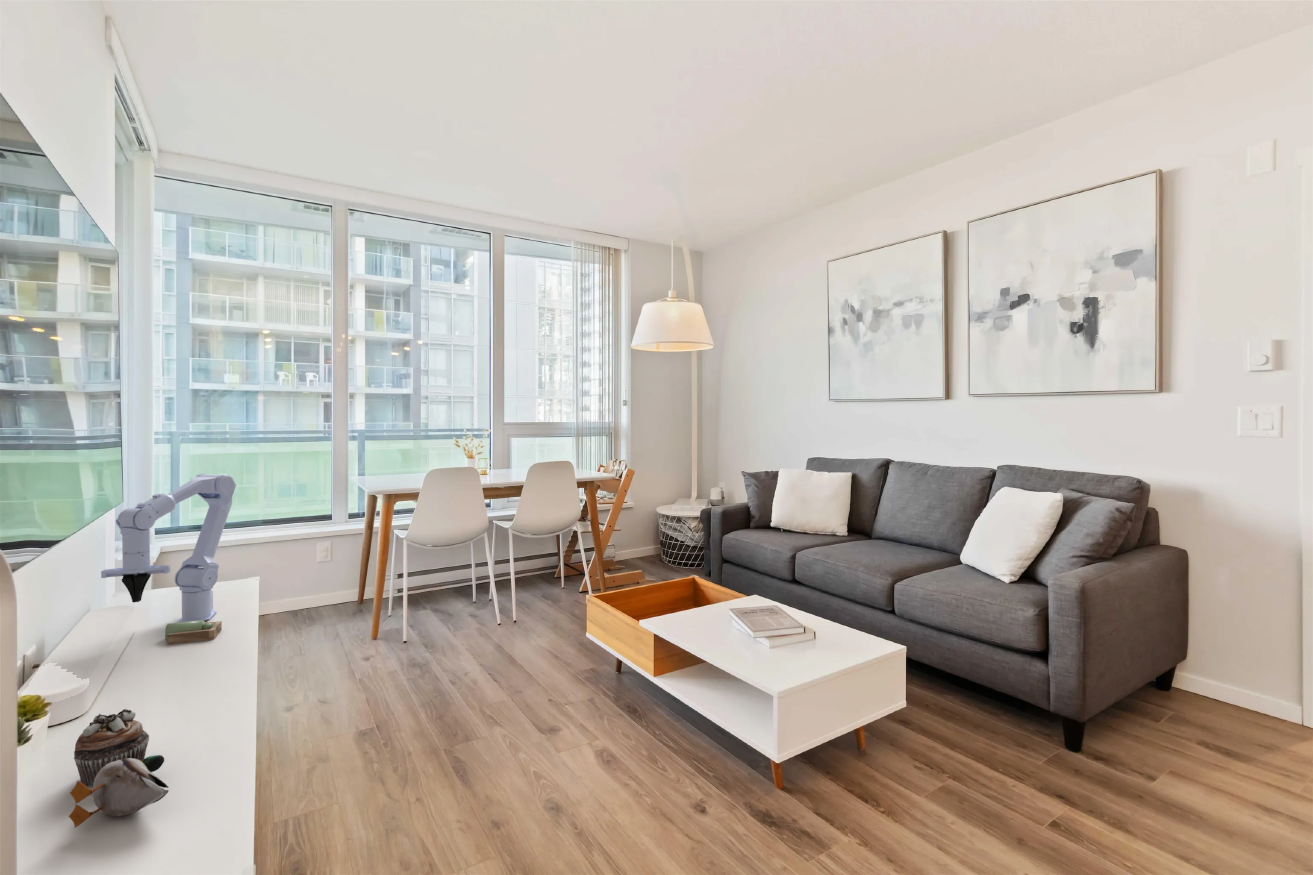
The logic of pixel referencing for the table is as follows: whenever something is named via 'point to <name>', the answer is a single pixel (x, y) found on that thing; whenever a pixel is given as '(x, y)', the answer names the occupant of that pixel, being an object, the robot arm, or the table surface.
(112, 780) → the decorative duck model
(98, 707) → the table surface
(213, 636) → the u rest
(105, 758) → the cupcake
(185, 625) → the bottle
